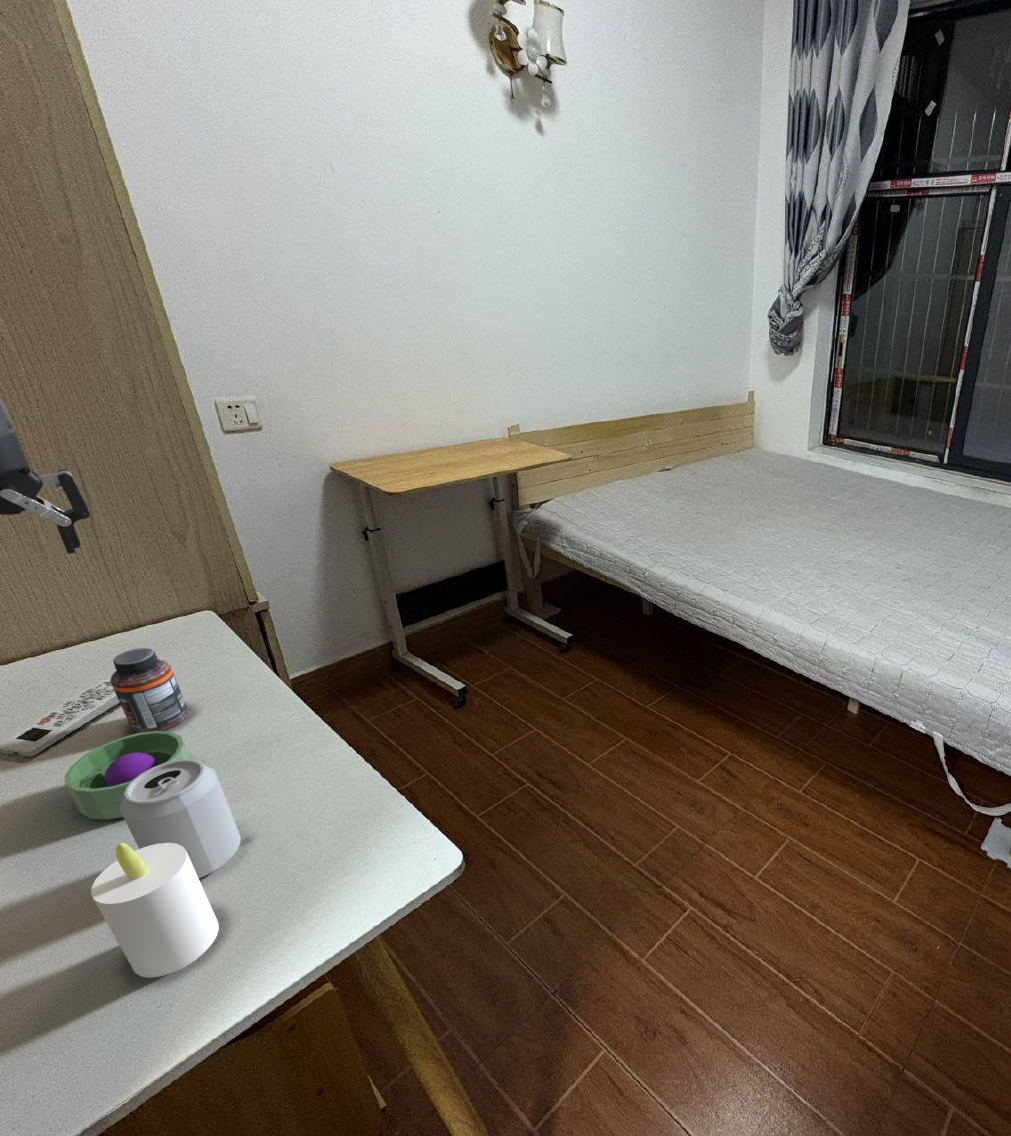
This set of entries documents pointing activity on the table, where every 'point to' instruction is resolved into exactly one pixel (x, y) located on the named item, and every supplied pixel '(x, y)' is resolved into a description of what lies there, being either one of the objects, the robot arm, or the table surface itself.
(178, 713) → the supplement bottle
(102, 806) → the bowl
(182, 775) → the can
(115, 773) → the ball
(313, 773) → the table surface
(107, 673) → the table surface
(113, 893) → the candle
